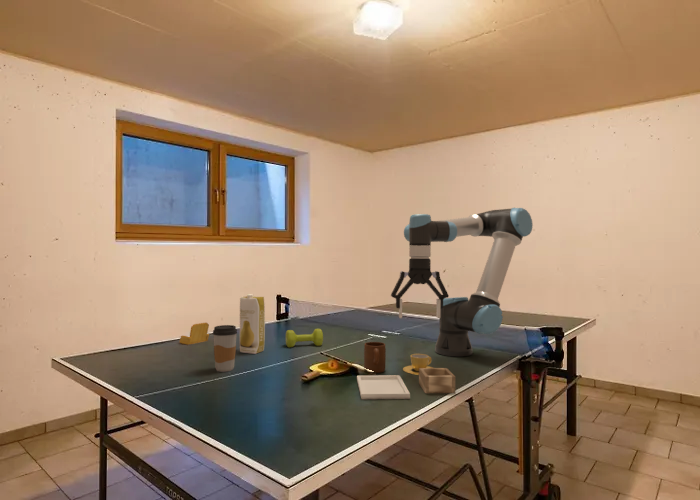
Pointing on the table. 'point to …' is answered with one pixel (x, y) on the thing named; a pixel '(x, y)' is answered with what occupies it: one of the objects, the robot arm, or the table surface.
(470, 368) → the table surface
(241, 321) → the juice carton
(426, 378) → the oak box
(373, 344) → the mug
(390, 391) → the tray
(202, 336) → the yellow stepped piece
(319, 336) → the dumbbell
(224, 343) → the coffee cup
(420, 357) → the cup
